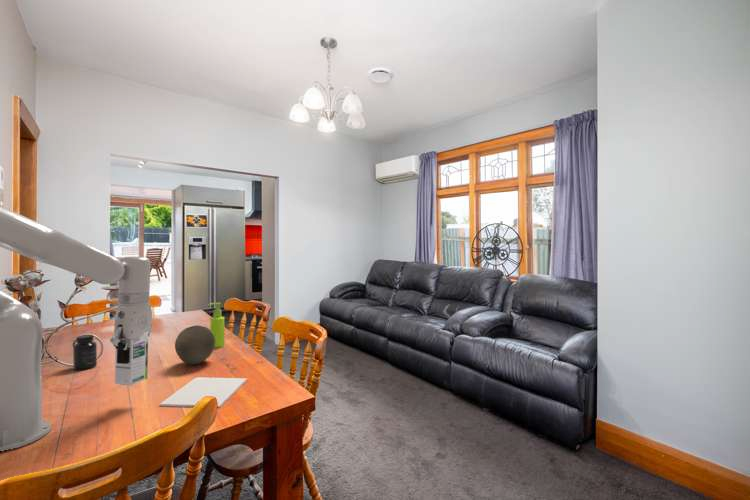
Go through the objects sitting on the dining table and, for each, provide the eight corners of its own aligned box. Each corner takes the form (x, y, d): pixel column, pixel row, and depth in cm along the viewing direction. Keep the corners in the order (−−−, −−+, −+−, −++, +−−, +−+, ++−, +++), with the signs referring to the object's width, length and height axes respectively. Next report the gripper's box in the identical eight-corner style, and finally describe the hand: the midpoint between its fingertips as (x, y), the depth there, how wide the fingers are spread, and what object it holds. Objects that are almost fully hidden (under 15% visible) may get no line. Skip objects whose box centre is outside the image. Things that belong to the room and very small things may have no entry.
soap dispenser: (208, 345, 161) (208, 302, 160) (224, 343, 164) (224, 301, 163) (207, 349, 155) (207, 304, 155) (224, 347, 158) (224, 303, 158)
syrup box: (130, 386, 99) (132, 335, 99) (113, 383, 100) (115, 333, 100) (147, 379, 105) (149, 331, 105) (131, 377, 106) (133, 329, 106)
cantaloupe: (171, 363, 137) (171, 325, 137) (209, 355, 146) (209, 320, 146) (178, 374, 127) (178, 333, 126) (219, 365, 136) (219, 327, 135)
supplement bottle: (69, 368, 130) (69, 336, 130) (91, 363, 136) (91, 332, 136) (78, 372, 127) (78, 339, 127) (100, 366, 133) (100, 335, 133)
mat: (220, 407, 102) (220, 405, 102) (159, 405, 102) (159, 403, 102) (247, 380, 122) (247, 378, 122) (196, 378, 122) (196, 377, 122)
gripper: (124, 303, 94) (122, 370, 94) (165, 295, 111) (163, 351, 111) (97, 302, 94) (95, 368, 94) (142, 294, 111) (140, 350, 111)
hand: (131, 358), depth 103 cm, fingers closed on syrup box, 6 cm apart
